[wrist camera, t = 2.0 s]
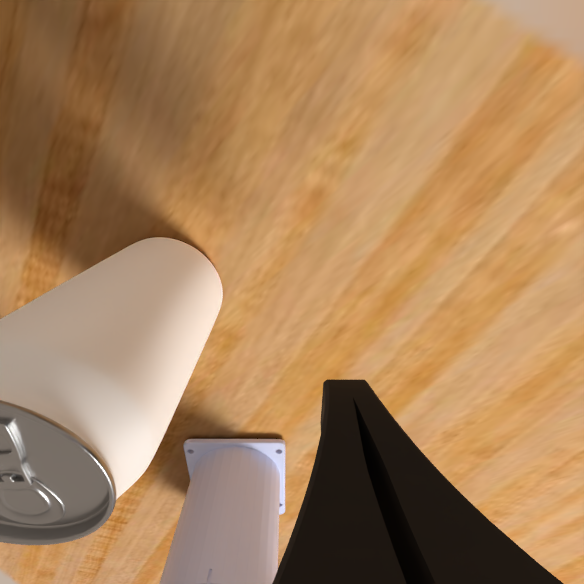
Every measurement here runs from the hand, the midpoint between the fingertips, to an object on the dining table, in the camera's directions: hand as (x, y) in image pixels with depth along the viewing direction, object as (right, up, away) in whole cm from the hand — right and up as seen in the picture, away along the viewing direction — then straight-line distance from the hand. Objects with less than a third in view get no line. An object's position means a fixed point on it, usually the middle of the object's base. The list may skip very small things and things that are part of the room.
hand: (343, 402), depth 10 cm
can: (-9, +4, +9) cm, 13 cm away
